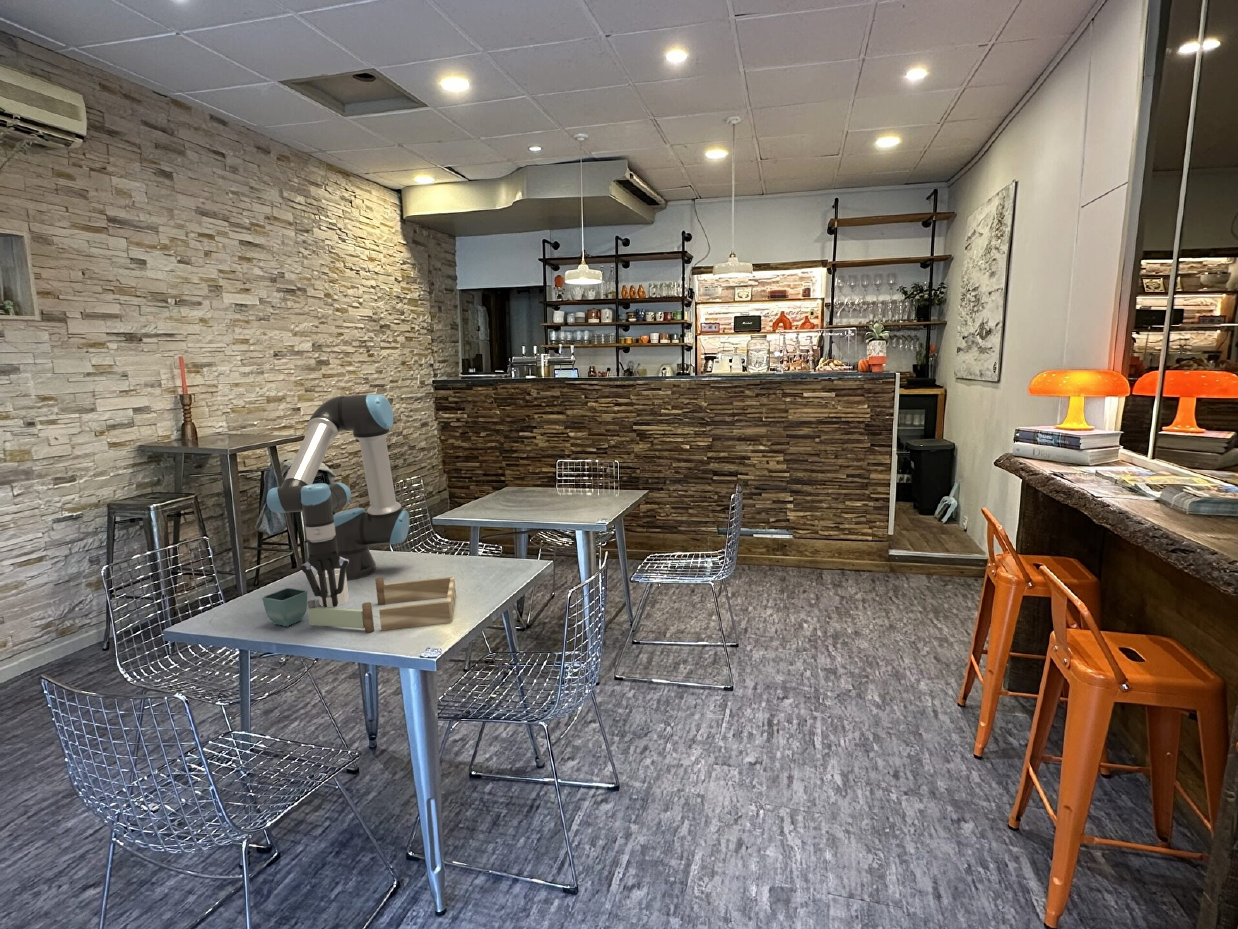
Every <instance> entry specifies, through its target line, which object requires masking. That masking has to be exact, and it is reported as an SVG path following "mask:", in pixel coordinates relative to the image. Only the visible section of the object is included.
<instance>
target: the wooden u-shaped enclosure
mask: <svg viewBox="0 0 1238 929" xmlns="http://www.w3.org/2000/svg"><path fill="white" fill-rule="evenodd" d="M374 581H375V589H376V597H377V605H378V606H379V605H380V606H382V605H383V606H384V605H385V604H395V603H396V604H397V603H403V602H413V601H421V600H423V601H424V600H431V599H438V598H439V599H440V598H446V600H445V601H435V602H427V603H419V604H410V605H400V606H393V607H383V608H379V610H378V613H379V621H380V629H381V631H389V630H398V629H406V628H413V627H414V628H415V627H423V626H430V625H431V626H433V625H439V624H448V623H451V622H453V620H454V612H455V606H456V598H457V593H456V591H457V590H456V581H455V577H453V576H448V577H438V578H428V579H420V580H411V581H400V582H392V583H385V580H384V577H378V578H375V579H374ZM372 605H373V604H372V602H368V601H367V602H364V603H362V604H361V606H362V607H361V608H362V609H361V610H363V617H364V626H365V628H364V633H366V634H370V633H373V632H374V631H375V625H374V615H373V608H372Z"/></svg>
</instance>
